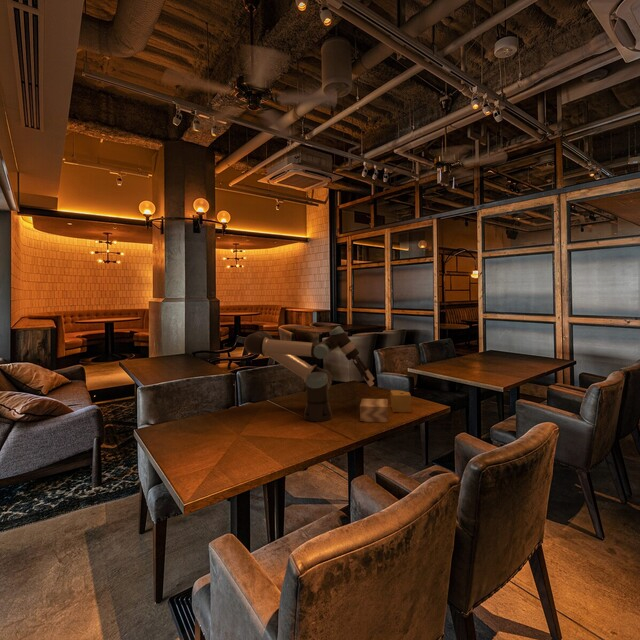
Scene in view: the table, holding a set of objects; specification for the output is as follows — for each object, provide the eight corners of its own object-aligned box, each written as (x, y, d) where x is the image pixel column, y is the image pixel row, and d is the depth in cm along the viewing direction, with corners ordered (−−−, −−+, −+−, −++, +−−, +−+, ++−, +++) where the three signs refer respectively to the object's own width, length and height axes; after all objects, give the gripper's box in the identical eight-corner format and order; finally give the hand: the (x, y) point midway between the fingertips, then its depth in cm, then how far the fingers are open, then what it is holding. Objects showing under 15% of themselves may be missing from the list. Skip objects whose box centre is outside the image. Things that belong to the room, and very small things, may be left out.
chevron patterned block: (360, 421, 192) (359, 406, 191) (362, 412, 206) (361, 398, 205) (387, 422, 189) (387, 406, 189) (388, 413, 203) (387, 399, 203)
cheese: (409, 407, 213) (408, 389, 213) (411, 413, 203) (411, 394, 202) (390, 407, 214) (390, 390, 214) (392, 413, 204) (391, 395, 203)
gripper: (354, 350, 196) (377, 383, 195) (356, 345, 221) (378, 374, 219) (342, 358, 197) (366, 391, 196) (346, 352, 222) (367, 381, 220)
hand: (372, 382), depth 208 cm, fingers open, 13 cm apart
